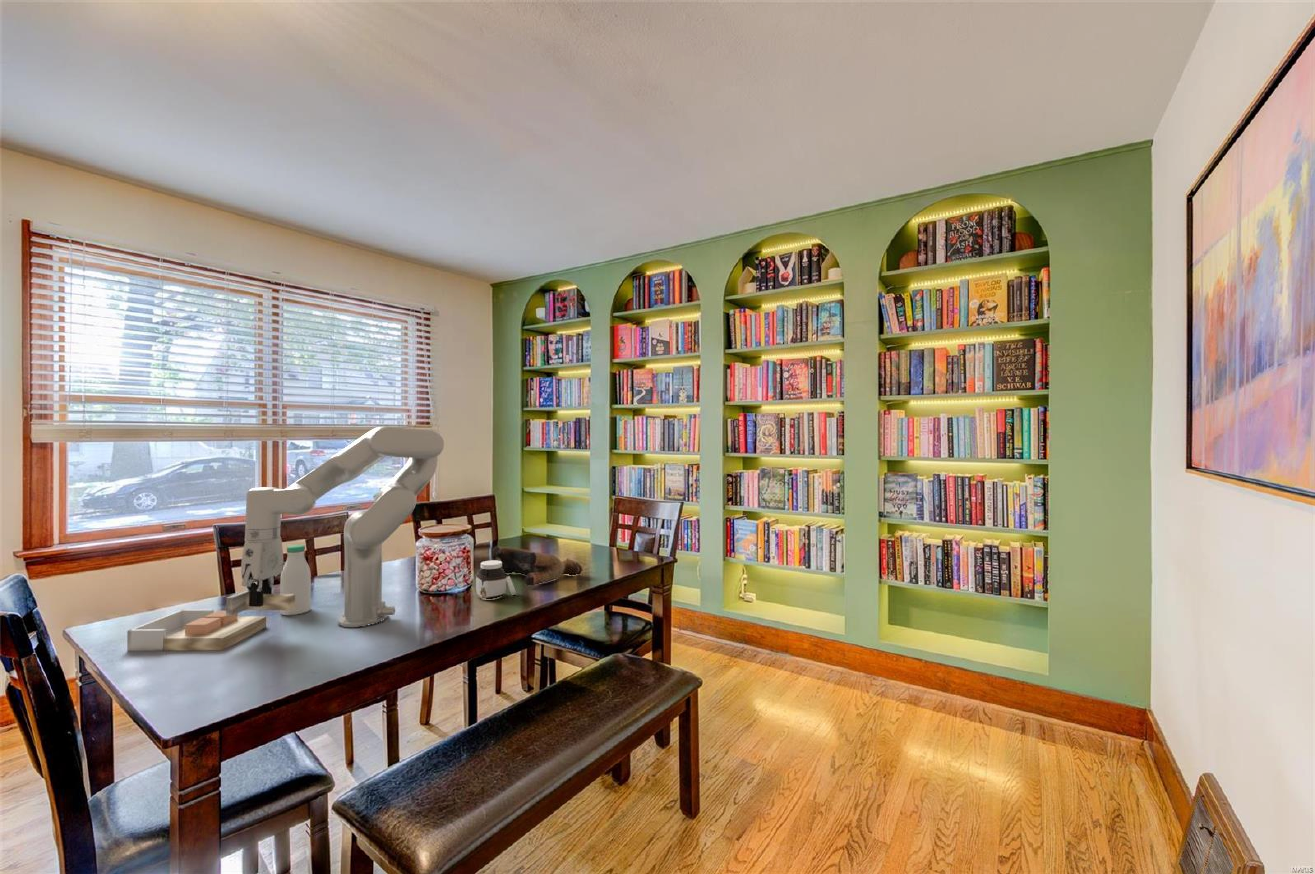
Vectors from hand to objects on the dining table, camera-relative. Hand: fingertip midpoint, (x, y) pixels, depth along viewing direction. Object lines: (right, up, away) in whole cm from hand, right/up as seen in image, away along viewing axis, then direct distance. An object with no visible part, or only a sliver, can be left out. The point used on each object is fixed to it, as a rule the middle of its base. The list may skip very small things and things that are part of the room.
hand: (260, 603), depth 142 cm
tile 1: (-12, -6, -3) cm, 14 cm away
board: (-11, -9, 0) cm, 14 cm away
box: (-23, -9, -1) cm, 24 cm away
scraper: (+3, -1, 0) cm, 3 cm away
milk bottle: (-5, -9, +21) cm, 24 cm away
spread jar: (+51, -10, +38) cm, 64 cm away
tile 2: (-13, -6, +3) cm, 14 cm away
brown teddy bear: (+59, -10, +63) cm, 87 cm away
